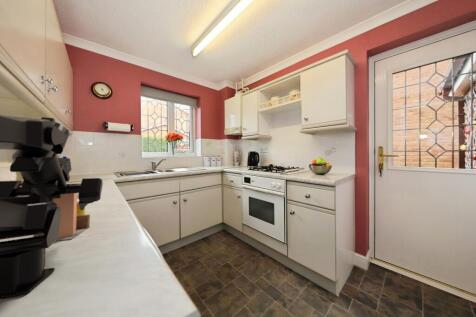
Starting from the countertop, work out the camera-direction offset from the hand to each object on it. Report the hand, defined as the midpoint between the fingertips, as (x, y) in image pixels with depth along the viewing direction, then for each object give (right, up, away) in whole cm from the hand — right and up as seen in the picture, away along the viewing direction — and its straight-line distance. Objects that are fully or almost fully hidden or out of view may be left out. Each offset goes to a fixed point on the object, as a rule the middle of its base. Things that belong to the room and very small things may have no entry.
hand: (59, 210), depth 46 cm
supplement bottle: (-10, -8, +15) cm, 20 cm away
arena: (-4, -8, +4) cm, 10 cm away
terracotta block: (-2, -8, +3) cm, 9 cm away
